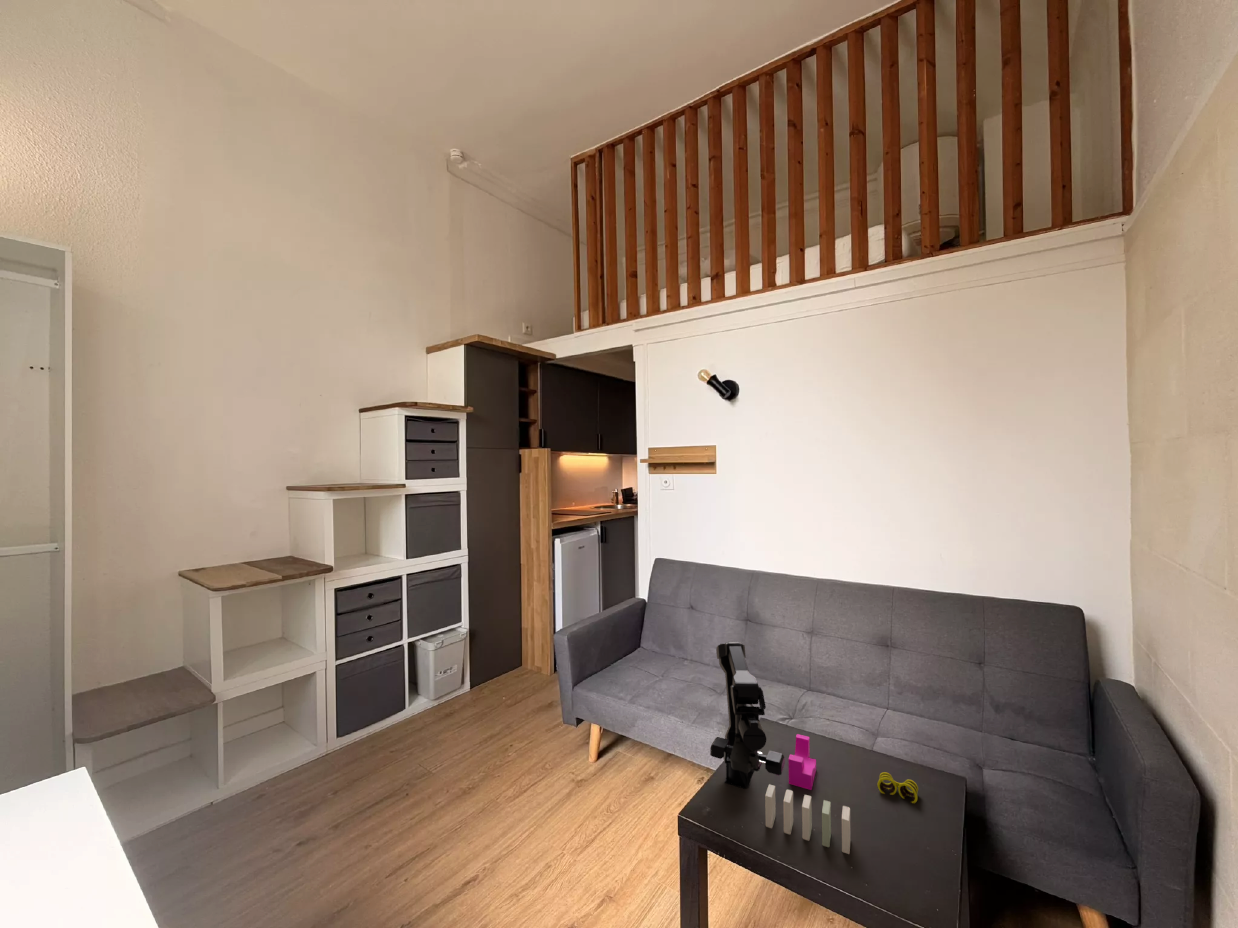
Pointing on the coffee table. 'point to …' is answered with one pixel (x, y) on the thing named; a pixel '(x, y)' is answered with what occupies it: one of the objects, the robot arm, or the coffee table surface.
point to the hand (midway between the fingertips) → (747, 786)
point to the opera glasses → (901, 787)
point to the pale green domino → (826, 823)
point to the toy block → (802, 764)
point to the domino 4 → (846, 830)
